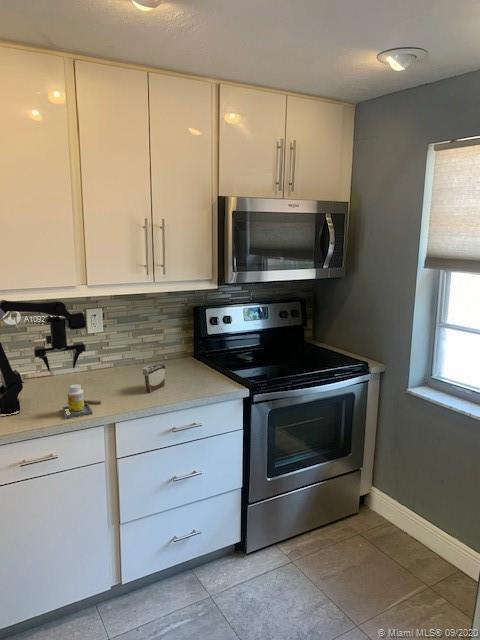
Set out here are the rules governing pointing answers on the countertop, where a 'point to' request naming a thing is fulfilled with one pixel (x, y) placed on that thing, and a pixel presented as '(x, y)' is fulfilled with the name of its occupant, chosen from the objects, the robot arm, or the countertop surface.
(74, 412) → the supplement bottle
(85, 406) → the square tray
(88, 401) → the strip
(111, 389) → the countertop surface
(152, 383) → the food container
